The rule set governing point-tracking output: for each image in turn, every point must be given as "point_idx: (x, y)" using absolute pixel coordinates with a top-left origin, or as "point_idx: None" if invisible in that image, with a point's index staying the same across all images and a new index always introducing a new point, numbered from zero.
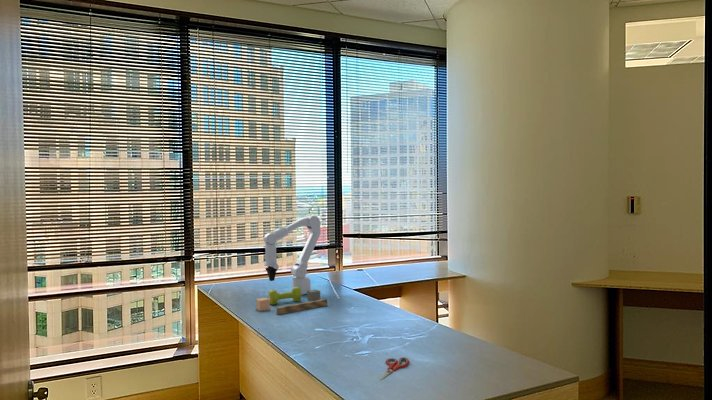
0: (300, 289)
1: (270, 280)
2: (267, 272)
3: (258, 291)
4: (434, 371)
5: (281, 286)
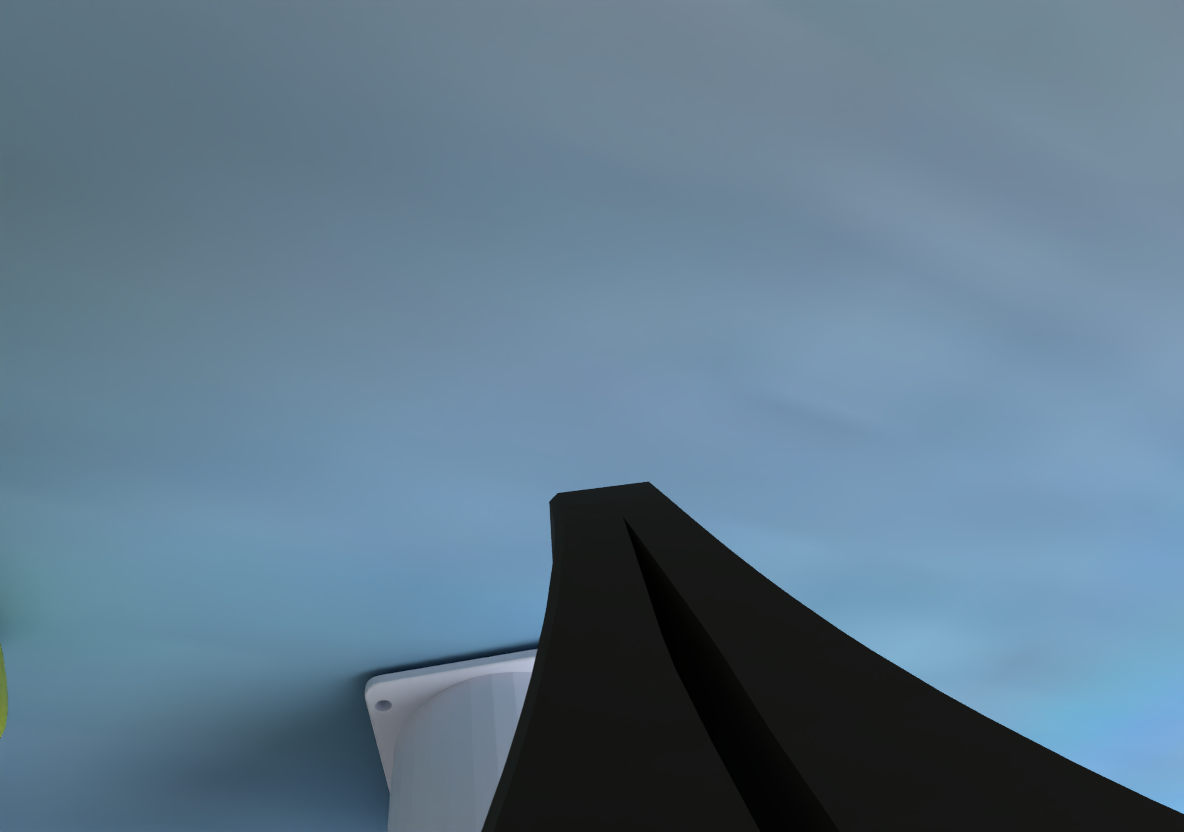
0: (389, 817)
1: (566, 498)
2: (955, 732)
3: (1173, 272)
4: None
5: (1102, 631)
